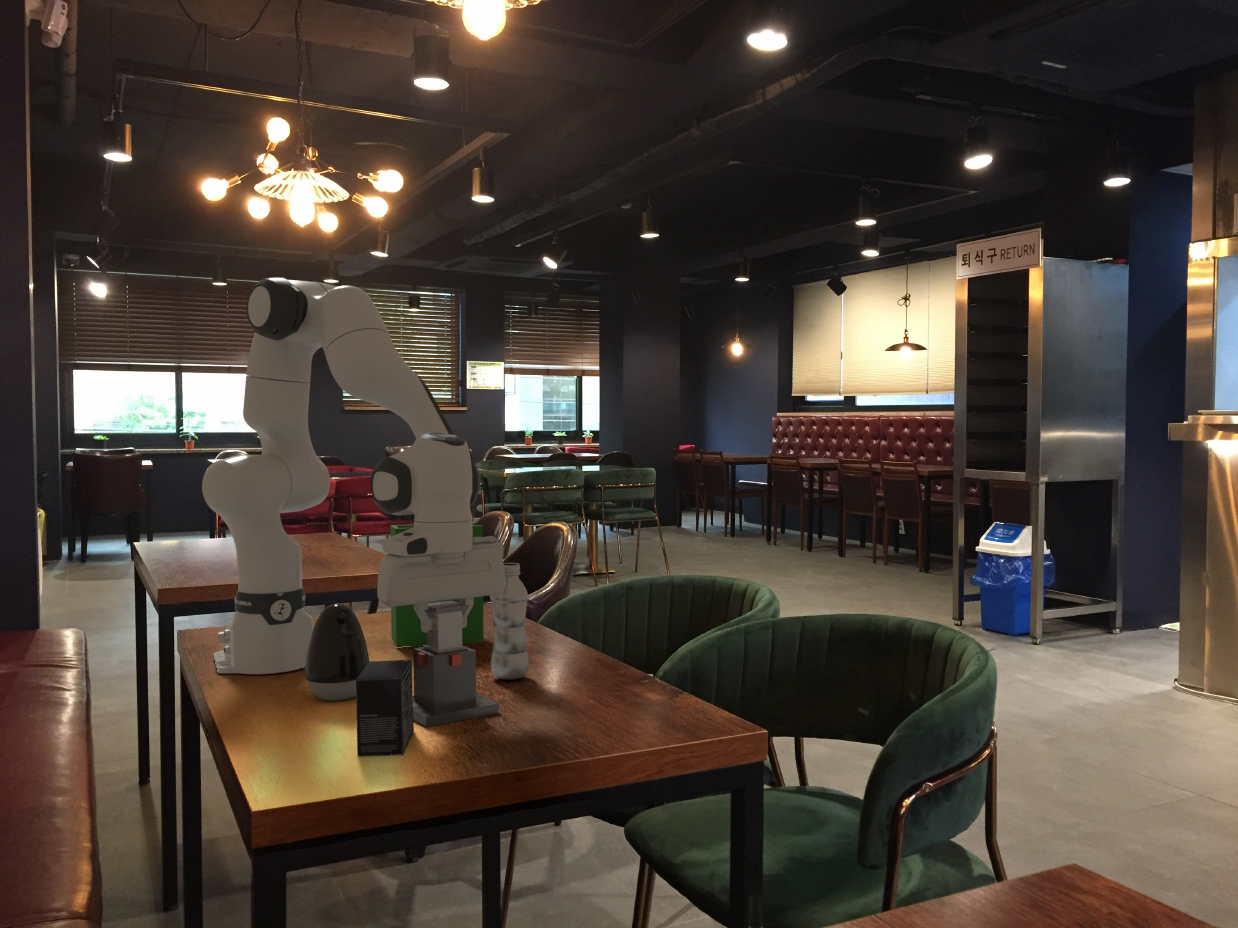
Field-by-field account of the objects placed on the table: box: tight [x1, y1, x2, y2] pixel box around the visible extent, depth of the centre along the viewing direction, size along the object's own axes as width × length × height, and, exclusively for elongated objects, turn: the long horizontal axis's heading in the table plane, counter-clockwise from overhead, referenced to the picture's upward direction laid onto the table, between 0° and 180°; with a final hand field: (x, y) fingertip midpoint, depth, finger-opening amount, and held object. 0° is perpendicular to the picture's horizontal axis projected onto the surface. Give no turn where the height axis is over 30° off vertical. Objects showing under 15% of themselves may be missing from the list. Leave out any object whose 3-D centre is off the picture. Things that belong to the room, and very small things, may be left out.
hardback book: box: [389, 522, 484, 648], centre depth 198 cm, size 18×7×24 cm, turn 111°
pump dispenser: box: [304, 603, 371, 702], centre depth 156 cm, size 10×10×15 cm
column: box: [424, 601, 467, 655], centre depth 147 cm, size 5×5×15 cm
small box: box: [355, 659, 415, 757], centre depth 132 cm, size 11×6×10 cm, turn 5°
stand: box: [412, 645, 500, 728], centre depth 147 cm, size 12×12×10 cm
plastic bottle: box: [489, 562, 530, 681], centre depth 167 cm, size 6×7×20 cm
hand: (444, 629), depth 147 cm, fingers closed on column, 4 cm apart
